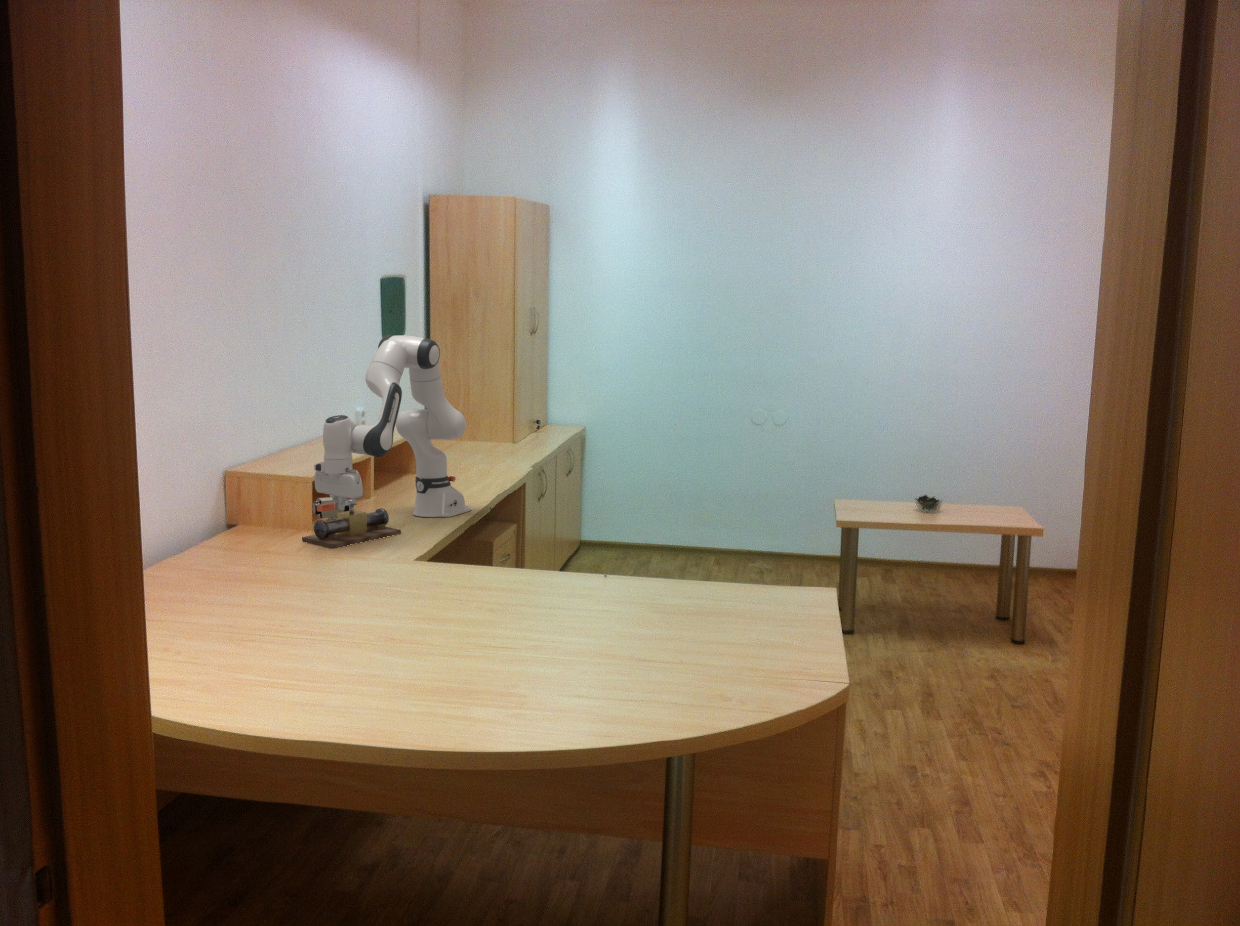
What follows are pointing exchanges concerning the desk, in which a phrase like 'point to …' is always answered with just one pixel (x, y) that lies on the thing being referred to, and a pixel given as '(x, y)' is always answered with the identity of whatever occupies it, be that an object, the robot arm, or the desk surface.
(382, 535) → the dark brown base board
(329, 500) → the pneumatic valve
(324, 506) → the valve lever
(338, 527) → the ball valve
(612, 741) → the desk surface
